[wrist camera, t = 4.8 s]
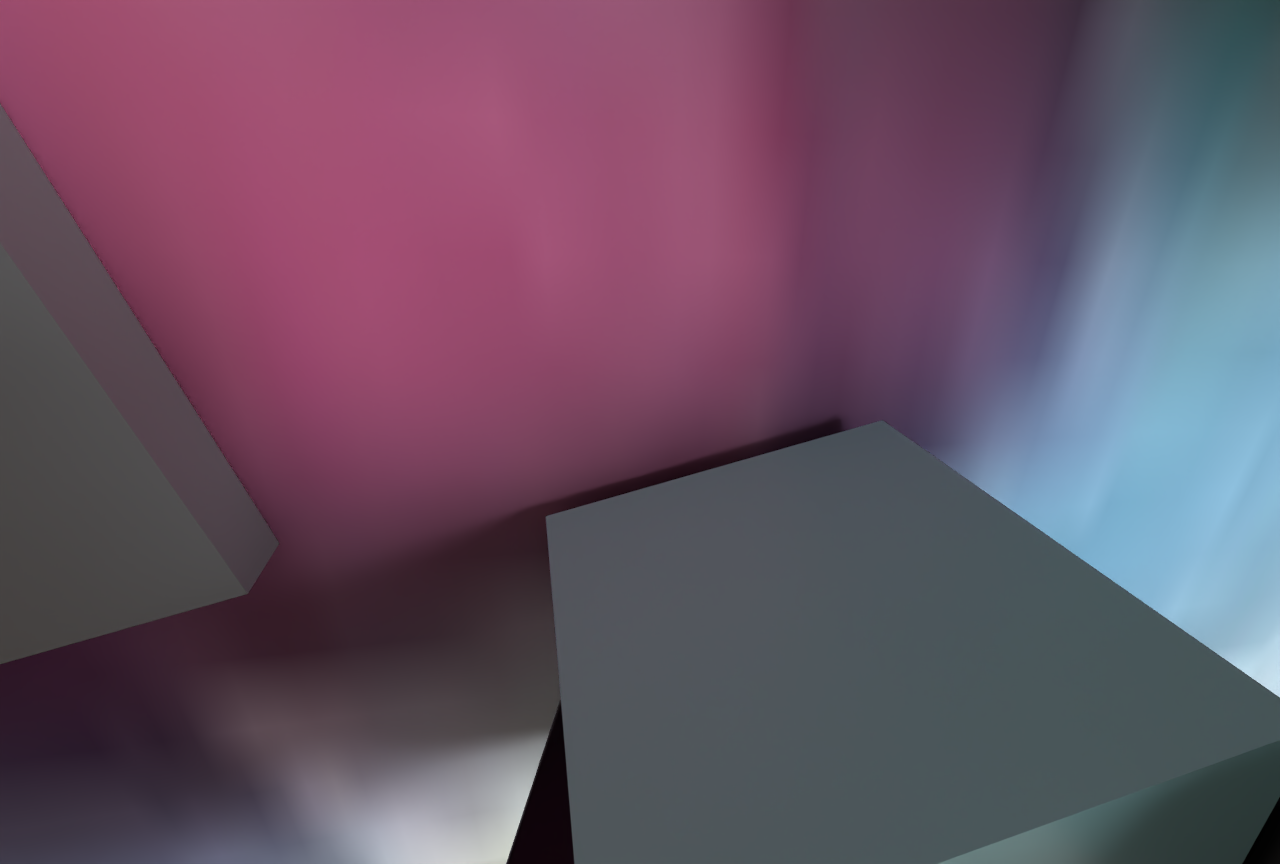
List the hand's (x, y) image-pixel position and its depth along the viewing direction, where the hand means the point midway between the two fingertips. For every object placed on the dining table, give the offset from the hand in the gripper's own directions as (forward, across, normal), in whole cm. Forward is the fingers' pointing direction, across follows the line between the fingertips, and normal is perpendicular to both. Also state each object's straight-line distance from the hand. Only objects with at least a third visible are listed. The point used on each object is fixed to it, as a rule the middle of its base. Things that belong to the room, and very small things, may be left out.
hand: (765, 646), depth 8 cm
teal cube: (+1, 0, 0) cm, 1 cm away
